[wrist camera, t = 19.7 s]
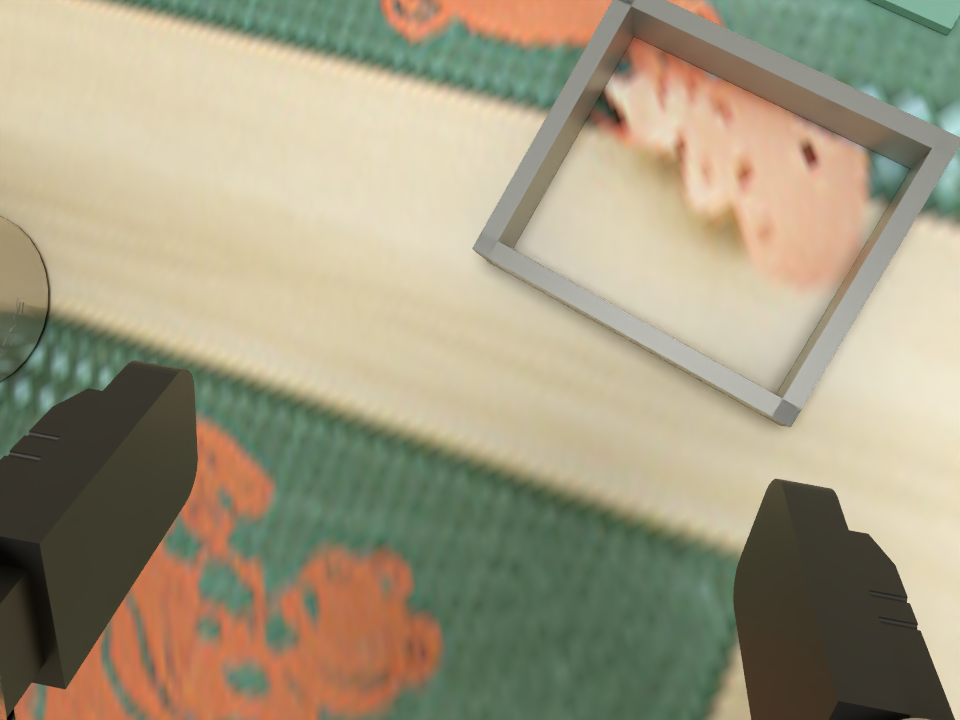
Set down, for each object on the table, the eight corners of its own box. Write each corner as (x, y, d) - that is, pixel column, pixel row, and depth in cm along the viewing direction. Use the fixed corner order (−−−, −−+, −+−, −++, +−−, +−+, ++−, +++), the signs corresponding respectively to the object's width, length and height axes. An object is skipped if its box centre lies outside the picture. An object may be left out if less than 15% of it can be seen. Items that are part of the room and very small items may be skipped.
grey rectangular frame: (486, 260, 40) (472, 248, 37) (627, 12, 39) (623, -20, 36) (780, 425, 37) (790, 427, 34) (939, 160, 36) (963, 139, 33)
